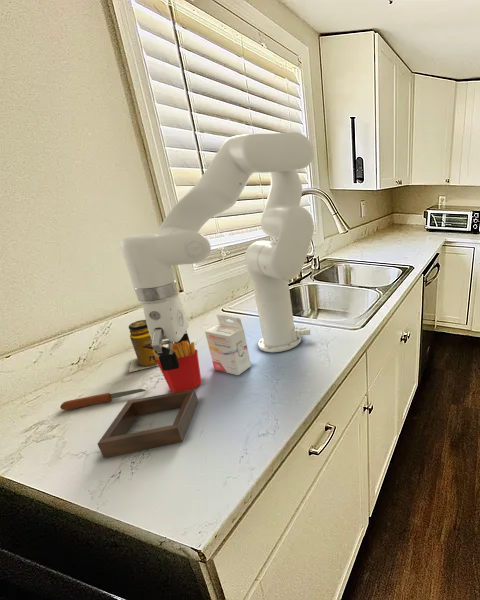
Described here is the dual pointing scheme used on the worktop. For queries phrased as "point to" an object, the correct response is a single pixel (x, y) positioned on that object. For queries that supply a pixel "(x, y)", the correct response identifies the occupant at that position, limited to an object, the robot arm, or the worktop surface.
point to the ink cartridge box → (228, 345)
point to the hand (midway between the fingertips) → (178, 358)
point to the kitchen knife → (96, 399)
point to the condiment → (141, 346)
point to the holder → (123, 443)
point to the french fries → (183, 368)
